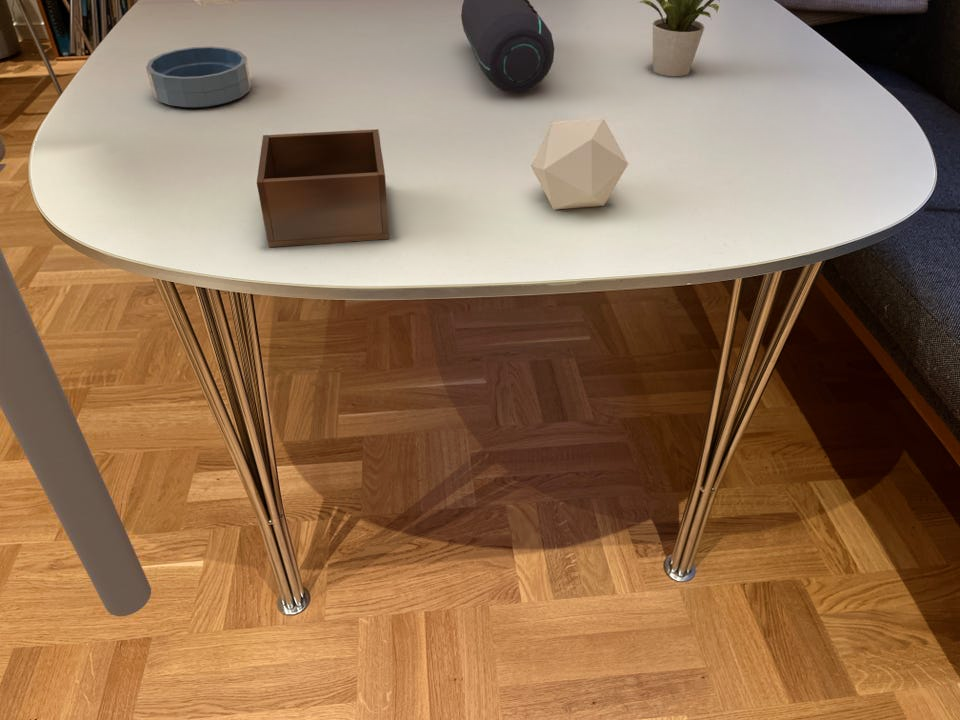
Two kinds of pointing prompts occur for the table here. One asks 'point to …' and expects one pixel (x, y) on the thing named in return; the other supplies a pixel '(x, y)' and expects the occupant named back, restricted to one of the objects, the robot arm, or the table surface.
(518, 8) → the portable speaker
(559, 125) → the die
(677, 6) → the house plant
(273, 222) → the holder
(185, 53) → the bowl
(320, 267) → the table surface
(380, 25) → the table surface
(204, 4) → the cosmetic box
